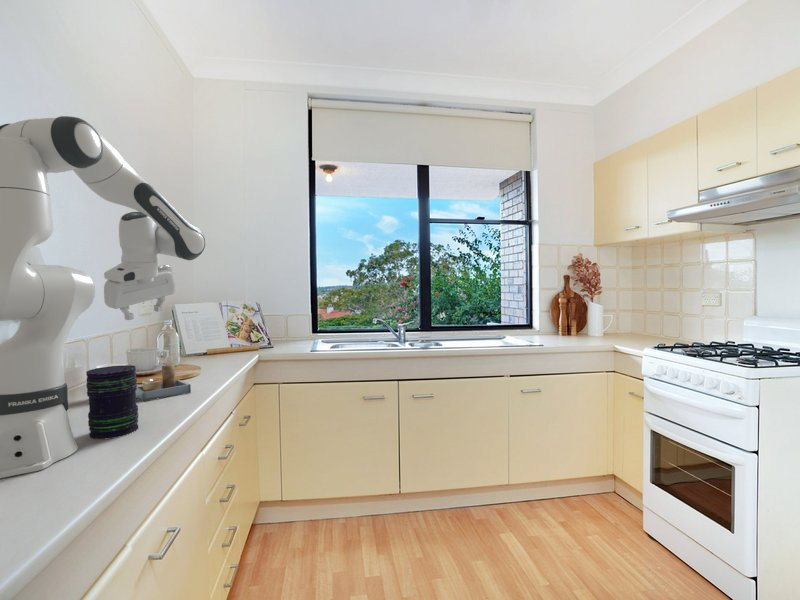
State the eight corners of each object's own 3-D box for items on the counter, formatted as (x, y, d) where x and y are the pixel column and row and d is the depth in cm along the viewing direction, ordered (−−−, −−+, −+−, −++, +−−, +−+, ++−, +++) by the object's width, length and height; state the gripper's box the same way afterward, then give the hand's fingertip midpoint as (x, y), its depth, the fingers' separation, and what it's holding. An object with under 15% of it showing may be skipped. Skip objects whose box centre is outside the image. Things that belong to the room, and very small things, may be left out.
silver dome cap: (144, 394, 134) (143, 381, 134) (141, 392, 136) (141, 380, 136) (155, 392, 136) (154, 379, 136) (152, 390, 139) (151, 378, 138)
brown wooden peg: (164, 392, 136) (163, 367, 136) (161, 390, 139) (160, 365, 138) (177, 390, 139) (176, 365, 138) (173, 388, 141) (172, 364, 141)
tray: (142, 401, 129) (142, 392, 129) (133, 395, 136) (133, 387, 136) (190, 392, 138) (190, 384, 138) (179, 387, 146) (179, 379, 146)
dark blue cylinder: (79, 441, 96) (76, 374, 95) (101, 427, 105) (98, 366, 105) (129, 437, 98) (125, 371, 97) (145, 423, 107) (143, 364, 107)
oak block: (146, 397, 131) (146, 383, 130) (143, 394, 133) (142, 382, 133) (161, 394, 133) (160, 381, 133) (157, 392, 136) (156, 379, 136)
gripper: (163, 262, 134) (166, 304, 138) (97, 274, 115) (103, 322, 119) (178, 265, 132) (181, 308, 136) (114, 278, 113) (119, 327, 117)
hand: (144, 315), depth 127 cm, fingers open, 8 cm apart
